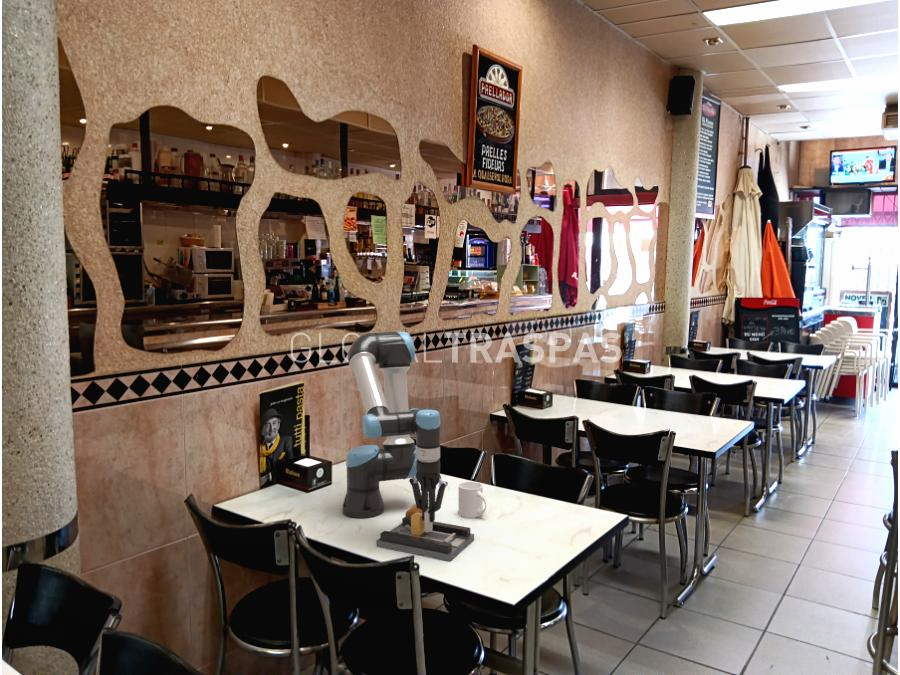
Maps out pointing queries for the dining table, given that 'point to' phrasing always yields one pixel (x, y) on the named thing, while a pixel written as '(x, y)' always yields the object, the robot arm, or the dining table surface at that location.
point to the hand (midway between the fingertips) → (428, 530)
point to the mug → (471, 499)
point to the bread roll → (413, 511)
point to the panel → (427, 552)
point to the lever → (417, 525)
